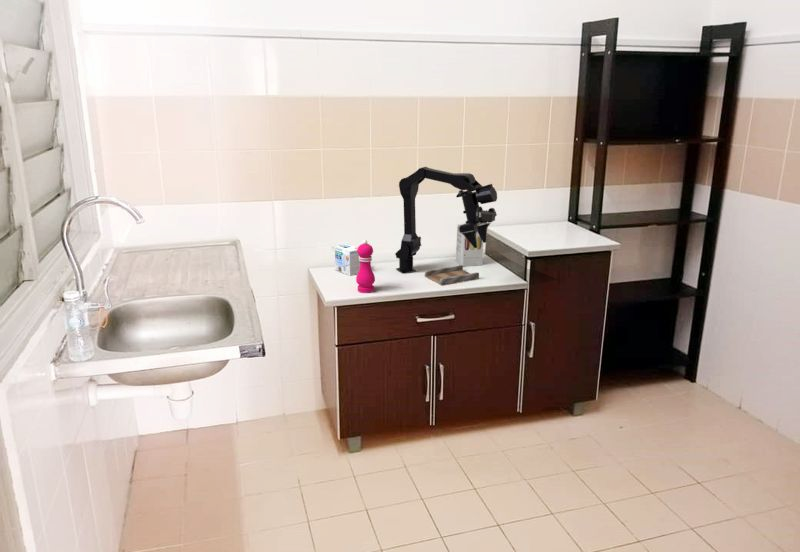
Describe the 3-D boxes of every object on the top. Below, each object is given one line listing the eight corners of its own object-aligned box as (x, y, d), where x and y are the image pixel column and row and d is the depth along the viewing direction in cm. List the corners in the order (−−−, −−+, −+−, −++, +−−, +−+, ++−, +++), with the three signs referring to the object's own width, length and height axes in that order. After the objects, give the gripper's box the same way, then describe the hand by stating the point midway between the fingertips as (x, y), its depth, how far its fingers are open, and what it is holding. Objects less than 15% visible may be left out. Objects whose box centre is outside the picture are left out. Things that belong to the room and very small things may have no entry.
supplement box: (462, 266, 270) (463, 229, 265) (455, 261, 278) (456, 224, 273) (482, 265, 272) (484, 227, 267) (475, 259, 280) (476, 223, 275)
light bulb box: (334, 270, 264) (334, 245, 261) (347, 267, 268) (347, 243, 265) (350, 276, 257) (349, 251, 253) (363, 273, 261) (362, 248, 257)
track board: (441, 285, 246) (441, 279, 245) (424, 276, 257) (424, 270, 256) (478, 278, 254) (479, 273, 253) (461, 270, 265) (461, 265, 264)
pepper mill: (372, 294, 236) (372, 243, 230) (354, 292, 237) (353, 241, 231) (377, 288, 242) (376, 238, 236) (359, 286, 244) (358, 237, 238)
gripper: (481, 206, 229) (490, 247, 231) (499, 198, 244) (507, 236, 247) (454, 212, 235) (463, 251, 237) (474, 203, 250) (482, 241, 253)
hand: (480, 245), depth 244 cm, fingers open, 9 cm apart
